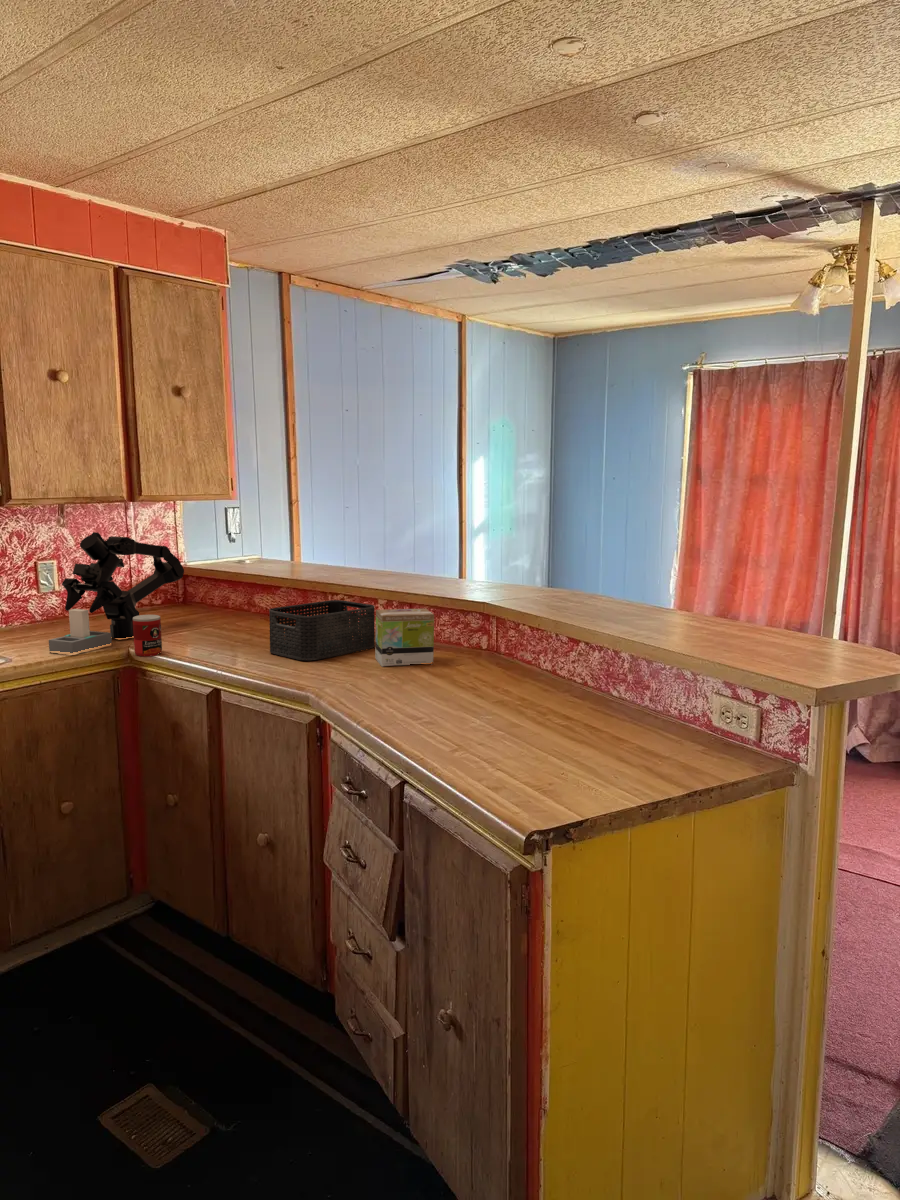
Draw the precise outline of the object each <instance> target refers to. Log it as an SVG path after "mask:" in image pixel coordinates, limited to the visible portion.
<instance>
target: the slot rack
mask: <svg viewBox="0 0 900 1200" xmlns="http://www.w3.org/2000/svg"><path fill="white" fill-rule="evenodd" d="M110 643H113V642H112V638H111V633H110V632H108V631H106V632H105V631H97V630H90V636H89V637H85V638H77V637H71V635H70V633H69V634H65V635H64V636H60V637H55V638H51V639H48V651H60V652H70V653H73V652H78V651H81V650H85V649H89V648H94V647H98V646H102V645H106V644H110Z"/></svg>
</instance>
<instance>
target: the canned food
mask: <svg viewBox="0 0 900 1200" xmlns="http://www.w3.org/2000/svg"><path fill="white" fill-rule="evenodd" d="M133 635H134V639H133V647H134V648H133V649H134V654H135V655H136V656H137V657H155V656H158V655H157V654H158V653H160V652H161V653H162V651H163V643H162V622H161V615H158V614H139V616H135V617H133Z"/></svg>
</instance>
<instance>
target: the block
mask: <svg viewBox="0 0 900 1200" xmlns="http://www.w3.org/2000/svg"><path fill="white" fill-rule="evenodd" d="M89 616H90V615H89V610H88V609H83V608H71V609H70V610H69V611H68V619H69V621H68V622H69V632H70V633H69V634H70V635H71V637H77V638H85V637H89V636H90V631H91V629H90V619H89Z"/></svg>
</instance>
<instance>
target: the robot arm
mask: <svg viewBox="0 0 900 1200" xmlns="http://www.w3.org/2000/svg"><path fill="white" fill-rule="evenodd" d="M79 547H80V548H81V550H82V551H84V553H85V554H86V555H87V556H88V557H89V558H90V559H91V560H93V561H96V562H95V563H93V562H92V563H90V564H85V563H74V567H73V569H72V575H76V576H78V577H80V580H79V579H78V578H70V577H69V578H67V577H66V578H64V579H63V581H62V583H61V585H62V586H63V589H65V590H66V592H67V594H66V601H65V606H64V609H65V611H67V612H69V610H72V609H73V607H74V606H76V605H77V603H78V602H80V600H82V598H83V595H84V594H85V593H86V592H87V591H88V592H95V593H96V596H95V597H94V600H93V602H92V604H91V606H90V607H89V610H88V613H90V614H92V613H95V612H96V611H97V610H99V609H101V608H103V611H104V614H105V617H106V619H107V620H110V622H111V623H110V624H109V631H110V632H109V633H111V637H112V638H126V637H132V636H134V635H133V617H135V616H139V615H140V612H139V611H138V609H136V605H137V603H139V602H140V601H142V600H143V599H144V598H146V597H147V596H149V595H150V594H152V593H153V592H154V591H156V590H158V589H159V588H161V587H162V586H163V585H166V584H169V583H175V582H177V581H179V580H181V579H182V578H183V577H184V573H185V568H184V567H183V565H182V562H180V560H179V558H177V556H175V554H173V553H172V552H171V550H170V548H169V547H168V546H166V545H156V544H148V543H144V542H143V543H142V542H138V541H136V540H135V539H133V538H130V537H128V536H113V535H112V536H109V537H108V538H107V539H106V540H104V538H103V537H102V536H101V534H100V533H99V532H94V531H93V532H92V533H91V534H90V535H87V536H85V537H84V538H83V539H81V540H80V543H79ZM133 555H141V556H149V557H152V558H153V567H154V570H153V574H151V575H150V576H148V577H147V578H145V579H143V580H142V581H141V582H139V583H136V584H135V585H134V586H133V587H131V588H129V589H128V590H122V589H121V588H120V587H119V585H118V584H117V583H116V582H115V581H113V580H114V577H113V574H114V573H115V571H116V570H117V568H124V567H125V563H124V561H123V560H124V559H123V558H120V557H119V556H133ZM161 558H162V559H163V560H164V561H162V559H161ZM80 581H82V582H84V583H81V582H80Z"/></svg>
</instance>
